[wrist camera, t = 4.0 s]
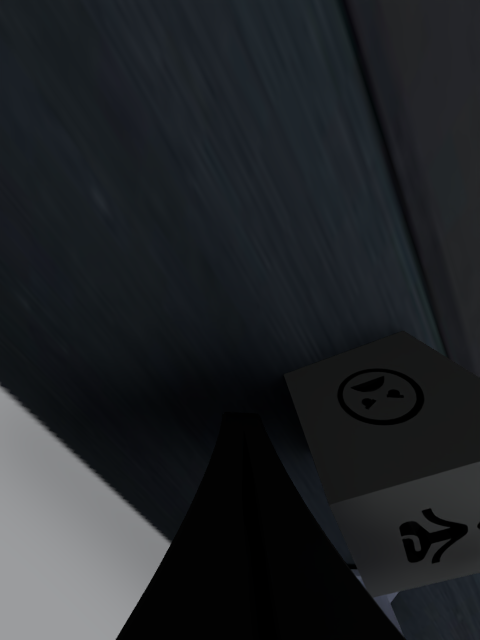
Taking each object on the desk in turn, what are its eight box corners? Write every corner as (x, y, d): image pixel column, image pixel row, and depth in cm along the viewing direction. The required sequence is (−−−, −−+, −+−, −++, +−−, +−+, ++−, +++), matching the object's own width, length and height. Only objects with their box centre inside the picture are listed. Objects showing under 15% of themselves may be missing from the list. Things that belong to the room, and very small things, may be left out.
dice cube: (283, 373, 10) (328, 504, 5) (401, 329, 9) (571, 434, 5) (315, 449, 12) (370, 598, 7) (416, 417, 11) (549, 556, 6)
